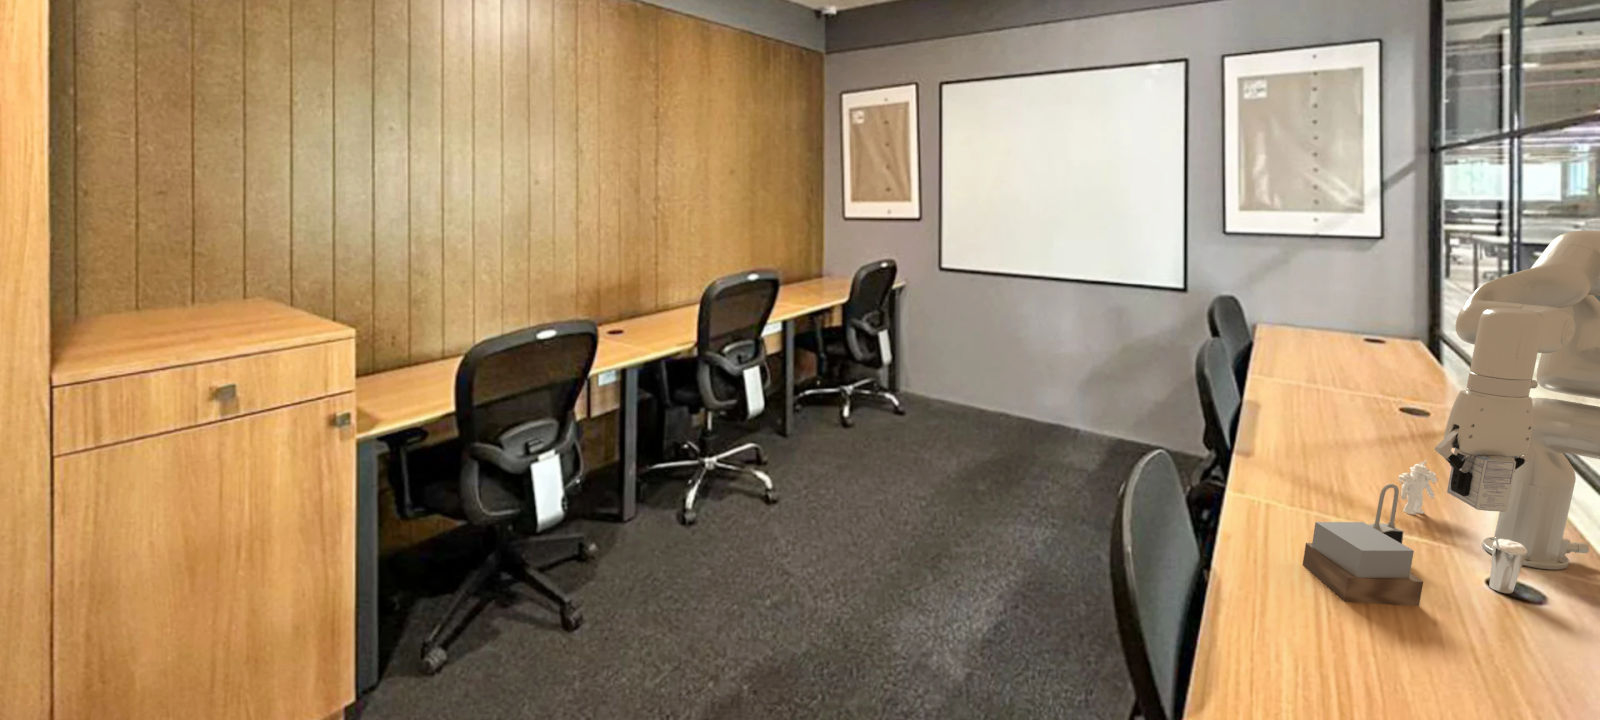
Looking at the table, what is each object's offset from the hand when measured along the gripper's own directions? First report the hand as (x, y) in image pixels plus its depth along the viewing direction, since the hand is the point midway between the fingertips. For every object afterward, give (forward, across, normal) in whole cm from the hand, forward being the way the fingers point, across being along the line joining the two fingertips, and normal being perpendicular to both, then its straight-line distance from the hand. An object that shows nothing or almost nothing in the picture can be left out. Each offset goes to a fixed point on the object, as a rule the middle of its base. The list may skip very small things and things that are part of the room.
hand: (1477, 493), depth 128 cm
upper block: (+17, +12, -8) cm, 22 cm away
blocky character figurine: (+22, -21, -46) cm, 55 cm away
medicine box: (+2, 0, 0) cm, 2 cm away
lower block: (+22, +11, -8) cm, 26 cm away
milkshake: (+21, -14, -10) cm, 27 cm away
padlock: (+22, 0, -21) cm, 30 cm away
